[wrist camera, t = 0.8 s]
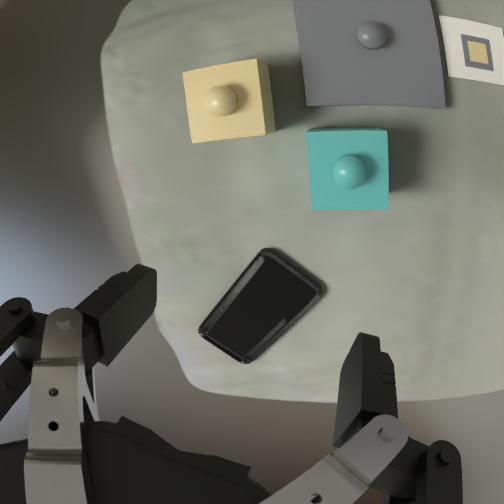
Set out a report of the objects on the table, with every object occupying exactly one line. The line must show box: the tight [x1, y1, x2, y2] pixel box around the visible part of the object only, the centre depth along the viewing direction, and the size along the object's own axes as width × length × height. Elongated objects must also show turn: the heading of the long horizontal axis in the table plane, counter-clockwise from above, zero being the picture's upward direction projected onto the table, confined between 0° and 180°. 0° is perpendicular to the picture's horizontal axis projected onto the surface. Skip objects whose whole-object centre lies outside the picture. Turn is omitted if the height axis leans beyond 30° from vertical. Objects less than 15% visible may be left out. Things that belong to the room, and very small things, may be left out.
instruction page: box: [439, 15, 504, 86], centre depth 18 cm, size 7×6×1 cm
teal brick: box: [306, 127, 389, 210], centre depth 24 cm, size 6×6×6 cm
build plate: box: [292, 0, 446, 108], centre depth 20 cm, size 12×12×2 cm
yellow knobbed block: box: [183, 59, 276, 143], centre depth 24 cm, size 6×6×6 cm
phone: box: [198, 248, 322, 364], centre depth 35 cm, size 8×1×15 cm
